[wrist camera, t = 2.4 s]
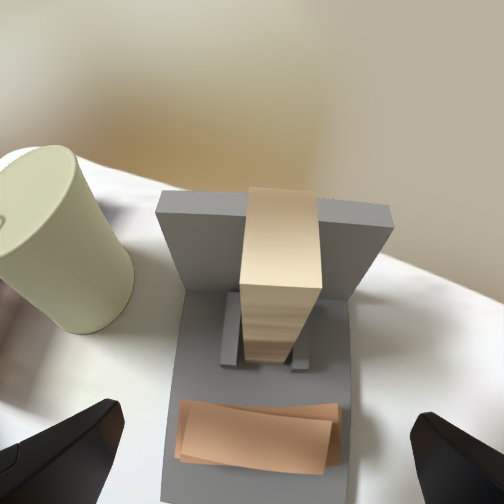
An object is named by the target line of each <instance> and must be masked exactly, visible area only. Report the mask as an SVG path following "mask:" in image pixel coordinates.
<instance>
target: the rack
mask: <svg viewBox="0 0 504 504" xmlns="http://www.w3.org/2000/svg"><path fill="white" fill-rule="evenodd" d="M248 194H249V193H234V192H208V191H165V190H162V193H161V196H160V199H159V202H158V205H157V208H156V211H155V214H156V216H157V219H158V222H159V224H160V227H161V230H162V232H163V235H164V237H165V240H166V242H167V245H168V248H169V250H170V253H171V255H172V258H173V260H174V263H175V265H176V267H177V270H178V272H179V275H180V277H181V279H182V282H183V284H184V287H185V289H186V295H185V300H184V306H183V312H182V318H181V324H180V330H179V337H178V343H177V350H176V356H175V363H174V370H173V378H172V385H171V393H170V401H169V409H168V418H167V427H166V436H165V447H164V457H163V469H162V482H161V497H160V501H161V502H166V503H170V504H345V502H346V492H347V481H348V467H349V450H350V424H351V363H350V335H349V316H348V301H347V300H348V299H349V297H350V296H351V294H352V293H353V292H354V290H355V289H356V287H357V286H358V284H359V283H360V281H361V280H362V278H363V277H364V275H365V274H366V272H367V271H368V269H369V268H370V266H371V265H372V263H373V261H374V260H375V258H376V257H377V255H378V254H379V252H380V250H381V249H382V247H383V245H384V244H385V242H386V241H387V239H388V238H389V236H390V234H391V233H392V231H393V229H394V225H393V220H392V216H391V212H390V209H389V205H381V204H372V203H364V202H355V201H344V200H334V199H323V198H316V201H317V213H318V225H319V239H320V254H321V272H322V290H321V292H320V294H319V296H318V298H317V300H316V302H315V304H314V306H313V308H312V310H311V312H310V314H309V316H308V318H307V320H306V322H305V324H304V326H303V328H302V330H301V332H300V334H299V336H298V337H297V339H296V341H295V343H294V345H293V347H292V349H291V351H290V352H289V354H288V356H287V358H286V360H285V362H284V363H283V365H268V364H251V363H245V356H244V342H243V328H242V314H241V299H240V284H239V283H240V273H241V263H242V253H243V243H244V233H245V223H246V214H247V204H248ZM180 399H187V400H195V401H202V402H211V403H220V404H230V405H243V406H258V407H289V406H307V405H320V404H331V403H337V404H338V407H342V423H341V448H340V465H339V466H334V467H325V468H324V473H323V475H315V474H298V473H286V472H276V471H268V470H260V469H253V468H246V467H240V466H228V465H209V464H196V463H185V462H180V459H178V458H174V457H175V446H176V436H177V426H178V417H179V408H180Z"/></svg>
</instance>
